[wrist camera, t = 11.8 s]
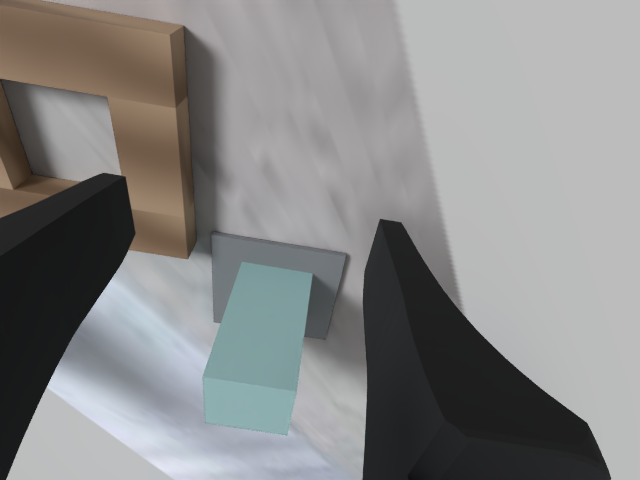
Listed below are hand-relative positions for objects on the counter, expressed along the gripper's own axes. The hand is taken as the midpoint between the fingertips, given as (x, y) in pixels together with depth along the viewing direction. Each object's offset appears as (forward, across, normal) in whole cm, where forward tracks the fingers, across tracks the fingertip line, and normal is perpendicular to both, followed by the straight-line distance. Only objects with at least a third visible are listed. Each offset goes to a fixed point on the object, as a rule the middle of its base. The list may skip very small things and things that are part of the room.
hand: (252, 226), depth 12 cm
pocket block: (+9, +11, +3) cm, 15 cm away
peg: (+9, 0, +12) cm, 15 cm away
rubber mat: (+9, 0, +12) cm, 16 cm away
